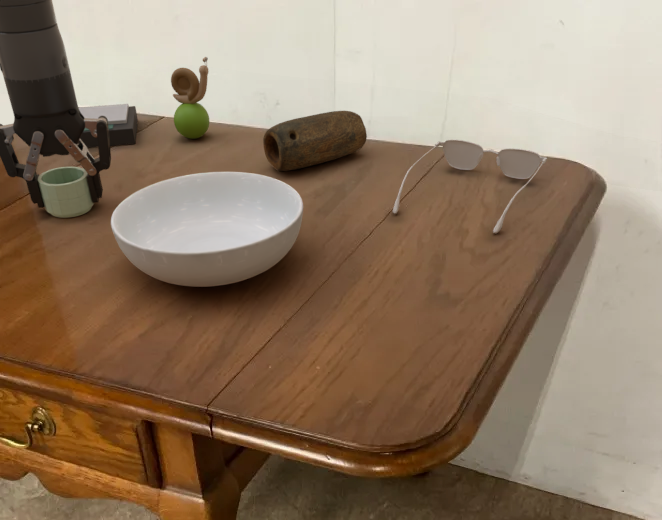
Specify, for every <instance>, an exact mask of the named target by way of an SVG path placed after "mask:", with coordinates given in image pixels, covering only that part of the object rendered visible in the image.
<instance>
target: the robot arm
mask: <svg viewBox="0 0 662 520" xmlns="http://www.w3.org/2000/svg"><path fill="white" fill-rule="evenodd" d="M70 69H71V68H70V64H69V60H68V55H67V50H66V47H65V43H64V40H63V37H62V34H61V32H60V29H59V26H58V22H57V17H56V11H55V8H54V3H53V0H0V72H1V74H2V76H3V80H4V84H5V87H6V91H7V94H8V98H9V103H10V106H11V109H12V113H13V118H14V119H13V123H9V124H4V125H3V123H0V160H1V163H2V164H3V167H4V170H5V172H6V174H7V176H9V178H15V177H16V178H21V179H23V180H24V181H25V183H26V187H27V190H28V194H29V197H30V201H31V202H32V204H33V205H34V204H37V207H38V208H45V207H44V203H43V199H42V196H41V192H40V188H39V185H38V181H37V179H38V176H39V175H40V174H39V173H37V167H38V164H39V162H40V161H39V160H40V157H41V156H42V157H43V158H45V157H46V158H47V157H51V156H55V155H58V156H69V155H70V156H71V157H72V158H73V159H74V160H75V162H76V163H78V164H79V165H80V166H81V168H83V169H84V170H85V171H86V172H87V180H88V185H89V189H90V194H91V198H92V202H93V203H94V204H96V203H100V202H99V201H100V199H102V197H103V192H104V188H103V183H102V179H101V174H100V172H101V171H104V170H105V171H106V170H109V169H110V168H111V162H112V153H111V152H112V151H111V146H110V140H109V128H108V119H107V118H106V117H105V116H100V117H99V118H98V119H94V118H84V116H83V115H82V114H81V112H80V111H79V108H78V107H79V104H78V100H77V96H76V92H75V87H74V82H73V78H72V74H71V70H70ZM85 128H87V129H89V130H90V132H91V135H92V136H93V137H95V138H98V147H97V149H98V157H96V158H94V156H93V155H92V153H91V152H90V151H89V149H88V148H87V147H86V145H85V144H84V143H83V142H82V140H81V139H80V137H81V135H82V133H83V131H84V129H85ZM14 135H17V136H18V137H19V138H20V140H22V141H23V142H24V143H25V144H26V145H27V146H28V147H29V150H28V153H27V157H26V162H25V164H24V163H20V162H19V158H18V157H17V154H16V151H15V148H14V146H13V144H12V143H13V142H14V140H15V139H14V138H15V137H14ZM77 143H78V144H77Z"/></svg>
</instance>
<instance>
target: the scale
mask: <svg viewBox="0 0 662 520" xmlns="http://www.w3.org/2000/svg"><path fill="white" fill-rule="evenodd" d="M136 107H137V106H136V105H130V106H129V103H120V104H106V105H92V106H78V108H79V111H80V112H81V114H82V115H83V116H84V118H94V119H98V118H99V117H100V116H105V117H106V118H107V119H108V128H109V140H110V147H112V146H126V145H127V146H128V145H135V144H136V141H137V133H138V124H139V119H138V113H137V108H136ZM80 139H81V140H82V142H83V143H84V144H85V145H86V147H87V148H89V149H90V148H98V138H95V137H93V136H92V135H91V132H90V130H89V129H87V128H85V129H84V131H83V133H82V135H81V137H80ZM77 144H78V143H77Z"/></svg>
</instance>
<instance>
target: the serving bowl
mask: <svg viewBox="0 0 662 520" xmlns="http://www.w3.org/2000/svg"><path fill="white" fill-rule="evenodd" d="M303 215H304V201H303V198H302V196H301V195H300V193H299V192H298V191H297V190H296V189H295V188H294V187H293V186H291V185H289V184H288V183H287V182H284V181H282V180H279V179H276V178H275V177H271V176H268V175H263V174H259V173H253V172H252V173H251V172H245V171H209V172H199V173H191V174H186V175H180V176H176V177H172V178H171V177H170V178H168V179H164V180H161V181H158V182H155V183H153V184H150V185H147V186H145V187H143V188H141V189H138V190H136V191H135V192H132V194H130V195H128V196H127V197H126V198H125V199H123V200H122V201H121V202H120V203H119V204H118V205H117V206H116V207H115V209H114V210H113V212H112V214H111V217H110V227H111V231H112V233H113V237H114V239H115V241H116V243H117V245H118V247H119V249H120V251H121V253H123V255H124V256H125V258H126V259H127V260H128V261H129V262H130V263H131V264H132V265H133V266H134V267H136V268H137V269H138V270H139V271H140V272H142V273H144V274H146V275H148V276H150V277H151V278H153V279H156V280H159V281H161V282H164V283H168V284H172V285H176V286H182V287H183V286H184V287H197V288H199V287H201V288H203V287H207V288H208V287H219V286H225V285H231V284H235V283H239V282H243V281H245V280H246V281H247V279H252V278H254V277H257V276H258V275H260V274H262V273H265V272H266V271H268V270H270V269H271V268H273V267H274V266H275V265H277V264H278V263H279V262H280V261H281V260H283V259H284V258H285V256H286V255H288V253H289V252H290V251H291V249H292V247H293V246H294V245H295V243H296V242H297V239H298V236H299V234H300V231H301V227H302V222H303Z"/></svg>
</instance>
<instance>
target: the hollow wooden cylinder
mask: <svg viewBox="0 0 662 520" xmlns="http://www.w3.org/2000/svg"><path fill="white" fill-rule="evenodd" d="M262 138H263V139H262V140H263V141H262V143H263V144H262V145H263V151H264V154H265V157H266V159H267V161H268V163H269V164H271V166H273V168H274V169H275V170H277V171H279V172H286V171H287V172H288V171H295V170H300V169H304V168H309V167H312V166H314V165H320V164H323V163H327V162H330V161H334V160H337V159H340V158H343V157H345V156H348V155H350V154H352V153H353V154H354V153H355V152H357V151H359V150H360V149H362V147H364V146H365V144H366V142H367V138H368V135H367V128H366V126H365V124H364V120H363V118H362V116H361V115H360V114H358V113H356V112H354V111H350V110H335V111H334V110H333V111H327V112H322V113H321V112H320V113H317V114H312V115H307V116H301V117H296V118H293V119H288V120H285V121H282V122H280V123H277V124H275V125H273V126H271V127H270V128H268V129H267V130H266V131H265V133H264V135H263V137H262Z"/></svg>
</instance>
